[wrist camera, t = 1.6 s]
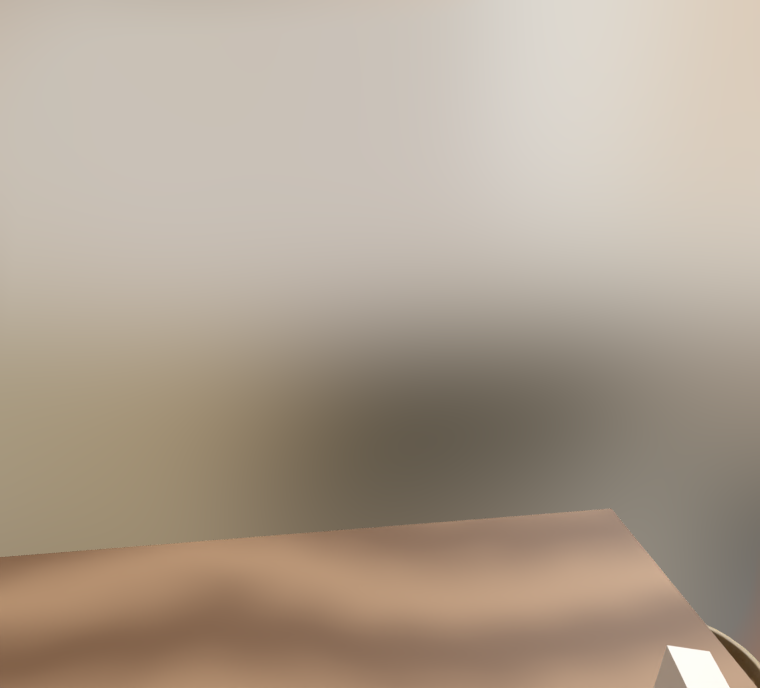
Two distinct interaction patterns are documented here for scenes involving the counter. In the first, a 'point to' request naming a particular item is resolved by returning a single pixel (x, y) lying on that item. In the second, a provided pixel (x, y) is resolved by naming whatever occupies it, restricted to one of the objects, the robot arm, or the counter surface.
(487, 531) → the cubby
